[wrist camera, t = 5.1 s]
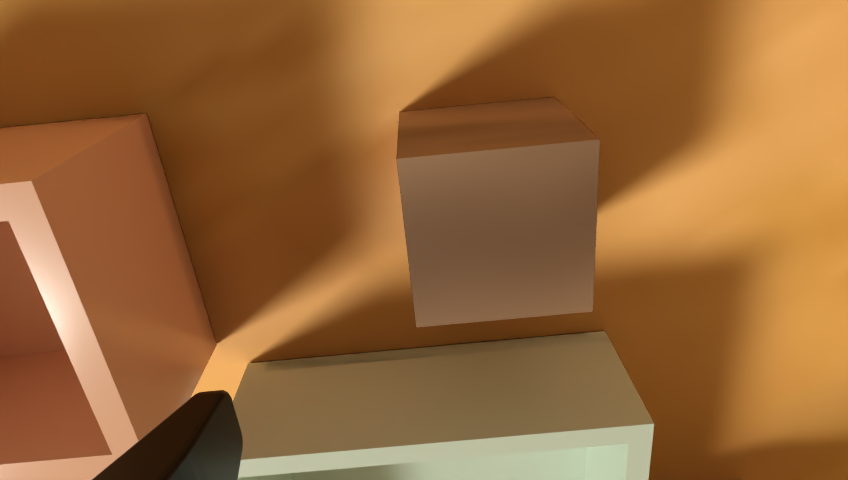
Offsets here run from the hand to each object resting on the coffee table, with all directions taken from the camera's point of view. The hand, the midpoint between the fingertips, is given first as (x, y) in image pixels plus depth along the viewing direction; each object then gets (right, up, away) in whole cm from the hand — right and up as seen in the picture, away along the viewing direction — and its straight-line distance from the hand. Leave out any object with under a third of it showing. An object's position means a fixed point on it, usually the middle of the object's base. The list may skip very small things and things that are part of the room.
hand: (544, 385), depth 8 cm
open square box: (-12, +2, +8) cm, 15 cm away
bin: (-1, -6, +12) cm, 14 cm away
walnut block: (0, +4, +8) cm, 9 cm away
